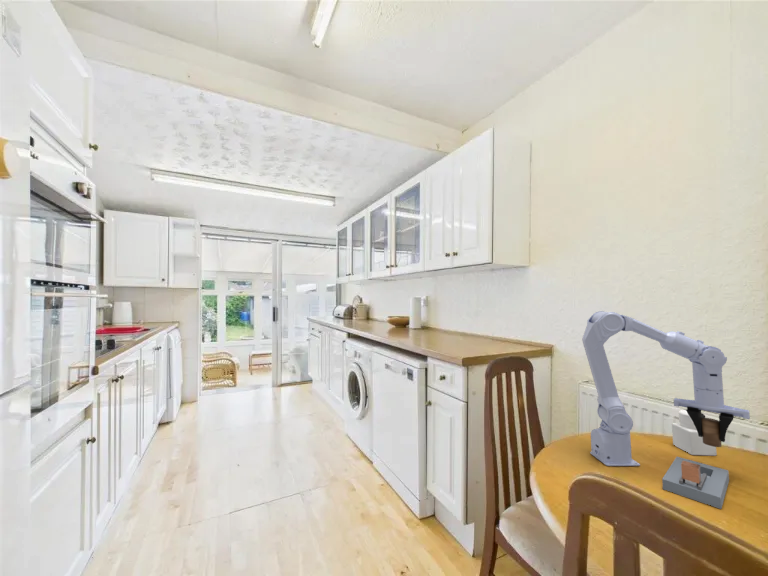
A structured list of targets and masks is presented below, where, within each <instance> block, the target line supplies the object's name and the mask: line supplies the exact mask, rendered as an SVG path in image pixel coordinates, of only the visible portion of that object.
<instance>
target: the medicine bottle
mask: <svg viewBox="0 0 768 576" xmlns="http://www.w3.org/2000/svg"><path fill="white" fill-rule="evenodd" d="M701 418H706V415H705V414H704V413H703V412H701ZM671 433H672V445H673V446H674V445H675V446H674V447H676V448H678V449H680V450H682V451H684V452H685V451H686V453H687V452H688V455H692V456H714V457H715V456H717V447H714V446H709V445H706V444H704V443H703V438H702V437H699V436H698V432H697V429H696V427H695V425H694V423H693V421H692V419H691V418H690V416H689V415H688V413H687V409H680V410H678V422H672V423H671Z"/></svg>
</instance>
